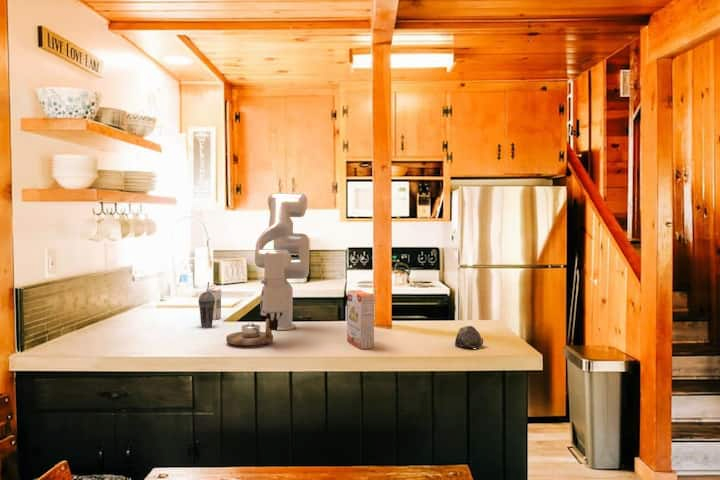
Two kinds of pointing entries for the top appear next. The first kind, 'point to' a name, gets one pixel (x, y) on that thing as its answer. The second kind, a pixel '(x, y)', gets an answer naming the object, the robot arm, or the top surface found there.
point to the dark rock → (468, 337)
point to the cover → (251, 331)
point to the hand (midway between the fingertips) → (273, 329)
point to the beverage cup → (206, 308)
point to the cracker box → (360, 319)
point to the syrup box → (216, 302)
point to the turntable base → (250, 345)
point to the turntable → (239, 340)
